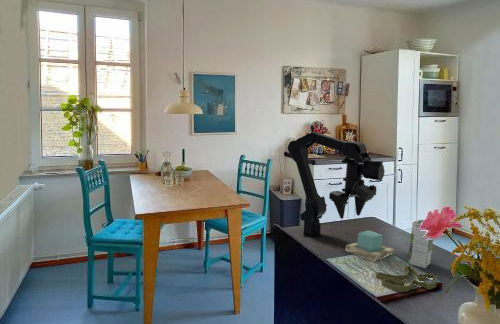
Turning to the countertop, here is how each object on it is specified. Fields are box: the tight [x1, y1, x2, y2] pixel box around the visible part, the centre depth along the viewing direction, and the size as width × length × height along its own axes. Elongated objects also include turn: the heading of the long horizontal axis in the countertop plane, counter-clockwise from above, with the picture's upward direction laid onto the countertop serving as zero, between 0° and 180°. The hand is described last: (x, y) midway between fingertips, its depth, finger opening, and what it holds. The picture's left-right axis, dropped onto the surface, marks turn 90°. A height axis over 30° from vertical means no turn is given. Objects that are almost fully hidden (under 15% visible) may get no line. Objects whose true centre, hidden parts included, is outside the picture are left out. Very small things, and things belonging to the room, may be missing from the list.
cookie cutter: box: [375, 265, 438, 293], centre depth 111 cm, size 18×12×2 cm, turn 116°
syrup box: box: [407, 218, 434, 269], centre depth 124 cm, size 6×6×14 cm
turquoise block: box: [357, 230, 384, 253], centre depth 134 cm, size 6×6×7 cm
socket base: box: [344, 241, 395, 262], centre depth 135 cm, size 13×13×2 cm
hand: (350, 216), depth 141 cm, fingers open, 9 cm apart
